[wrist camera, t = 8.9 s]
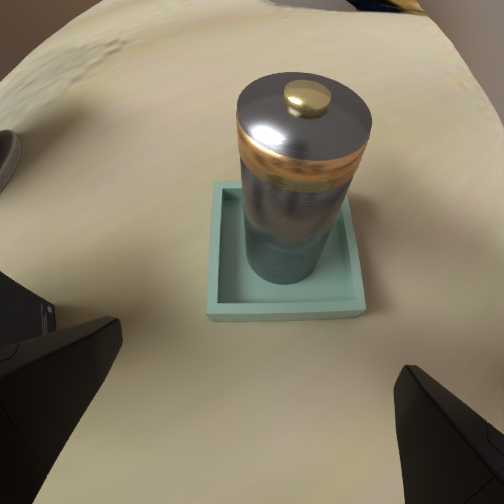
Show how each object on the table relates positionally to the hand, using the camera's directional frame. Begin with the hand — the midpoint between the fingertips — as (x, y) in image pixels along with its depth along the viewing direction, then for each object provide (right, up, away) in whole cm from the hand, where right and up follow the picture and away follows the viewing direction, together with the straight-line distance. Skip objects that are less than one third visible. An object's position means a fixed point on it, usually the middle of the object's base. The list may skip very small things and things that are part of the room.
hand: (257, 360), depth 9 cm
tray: (+2, +3, +12) cm, 13 cm away
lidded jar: (+2, +3, +12) cm, 12 cm away
